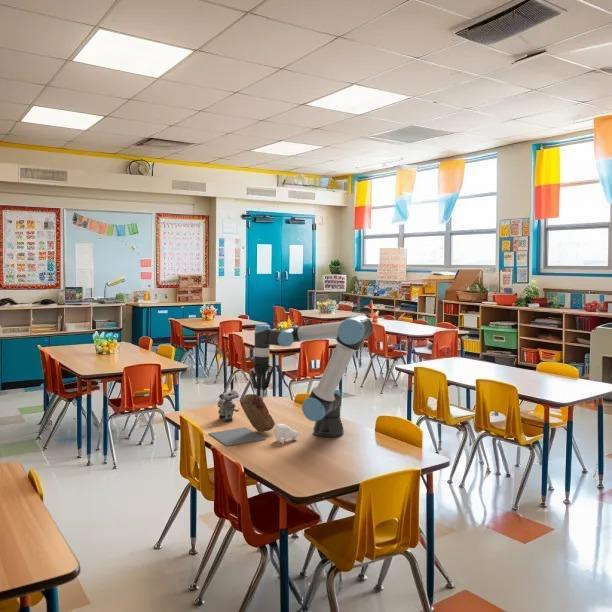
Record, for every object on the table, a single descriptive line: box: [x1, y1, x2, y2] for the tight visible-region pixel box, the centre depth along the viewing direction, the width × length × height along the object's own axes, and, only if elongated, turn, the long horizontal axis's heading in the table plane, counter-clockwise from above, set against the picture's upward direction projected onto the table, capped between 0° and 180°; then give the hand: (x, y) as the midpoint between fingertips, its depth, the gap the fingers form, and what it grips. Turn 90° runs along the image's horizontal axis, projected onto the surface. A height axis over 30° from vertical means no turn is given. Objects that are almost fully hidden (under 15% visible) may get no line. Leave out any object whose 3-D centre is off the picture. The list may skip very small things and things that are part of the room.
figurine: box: [217, 390, 241, 423], centre depth 323 cm, size 9×12×15 cm
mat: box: [208, 426, 266, 447], centre depth 292 cm, size 22×20×1 cm
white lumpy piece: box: [273, 423, 299, 444], centre depth 286 cm, size 6×8×12 cm
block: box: [239, 393, 276, 433], centre depth 297 cm, size 11×8×20 cm
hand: (260, 402), depth 299 cm, fingers closed
